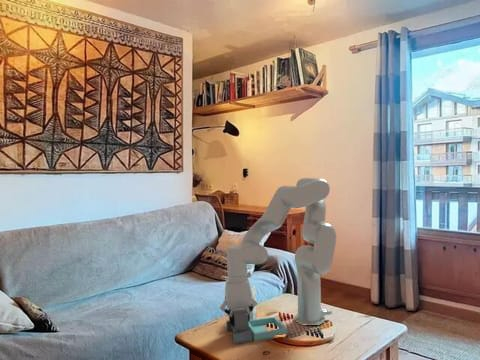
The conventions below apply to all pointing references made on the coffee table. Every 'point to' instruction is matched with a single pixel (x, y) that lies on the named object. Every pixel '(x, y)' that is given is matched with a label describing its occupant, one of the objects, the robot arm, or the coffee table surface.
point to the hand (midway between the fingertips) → (239, 323)
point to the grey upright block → (240, 320)
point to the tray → (260, 331)
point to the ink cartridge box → (253, 312)
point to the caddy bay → (239, 335)
